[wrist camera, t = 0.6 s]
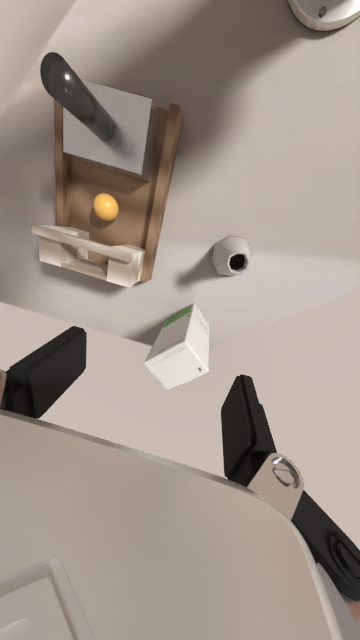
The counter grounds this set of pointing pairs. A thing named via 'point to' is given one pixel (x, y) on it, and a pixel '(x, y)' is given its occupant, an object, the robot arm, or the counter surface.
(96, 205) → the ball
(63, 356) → the robot arm
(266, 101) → the counter surface
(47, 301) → the counter surface
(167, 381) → the skincare box
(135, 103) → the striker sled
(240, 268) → the flask
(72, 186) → the wooden tray
